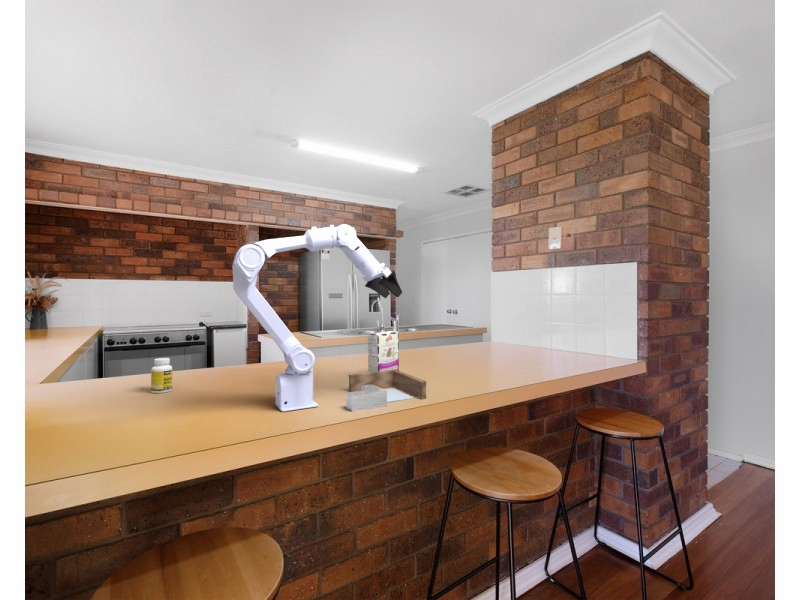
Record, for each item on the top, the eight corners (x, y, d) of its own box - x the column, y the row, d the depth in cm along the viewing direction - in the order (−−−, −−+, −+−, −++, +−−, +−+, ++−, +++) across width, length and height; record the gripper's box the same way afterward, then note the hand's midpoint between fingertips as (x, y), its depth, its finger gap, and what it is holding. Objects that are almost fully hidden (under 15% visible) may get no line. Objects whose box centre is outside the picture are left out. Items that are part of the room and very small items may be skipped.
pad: (385, 402, 105) (385, 402, 105) (366, 392, 115) (366, 392, 115) (413, 398, 110) (413, 397, 110) (392, 389, 120) (392, 388, 120)
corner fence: (375, 406, 101) (375, 387, 101) (348, 391, 117) (349, 374, 117) (426, 398, 109) (426, 381, 109) (395, 385, 125) (395, 369, 125)
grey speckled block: (351, 411, 97) (351, 395, 97) (339, 403, 105) (339, 388, 104) (386, 406, 102) (386, 390, 102) (372, 398, 110) (372, 384, 109)
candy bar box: (388, 376, 138) (388, 330, 137) (399, 378, 135) (399, 331, 134) (367, 382, 129) (367, 333, 129) (378, 384, 126) (378, 334, 126)
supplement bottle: (165, 393, 113) (164, 360, 113) (146, 393, 113) (146, 360, 113) (176, 389, 118) (176, 357, 118) (158, 389, 119) (158, 357, 118)
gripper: (384, 247, 105) (414, 284, 109) (362, 254, 117) (390, 287, 122) (367, 265, 102) (399, 301, 106) (347, 270, 115) (376, 303, 119)
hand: (393, 295), depth 114 cm, fingers open, 7 cm apart
